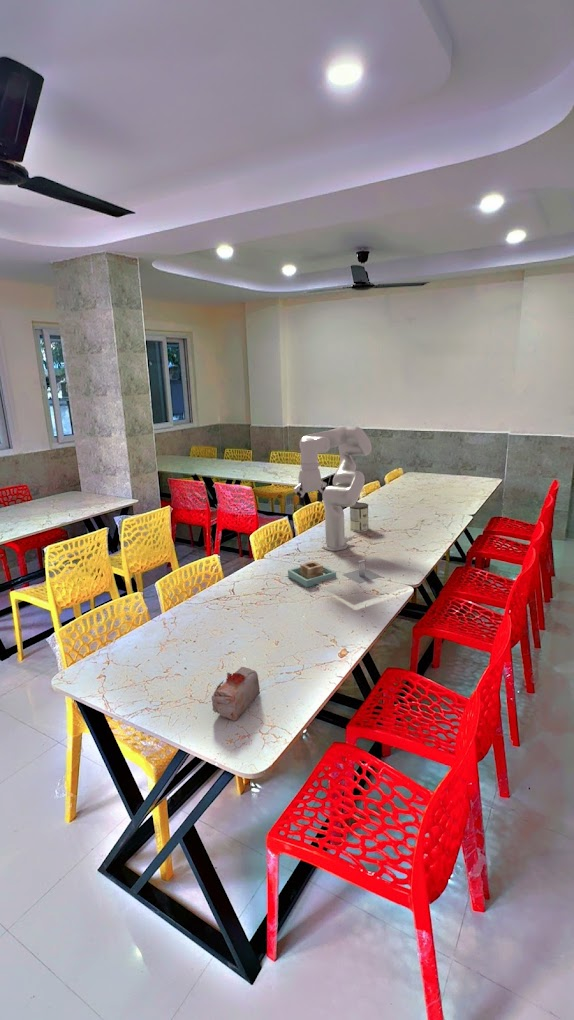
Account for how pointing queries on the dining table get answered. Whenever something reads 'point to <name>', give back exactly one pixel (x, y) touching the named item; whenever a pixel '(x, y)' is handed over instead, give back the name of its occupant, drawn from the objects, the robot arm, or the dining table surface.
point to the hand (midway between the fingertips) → (311, 503)
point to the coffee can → (359, 517)
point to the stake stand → (361, 574)
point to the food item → (236, 693)
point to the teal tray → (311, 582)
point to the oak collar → (311, 570)
